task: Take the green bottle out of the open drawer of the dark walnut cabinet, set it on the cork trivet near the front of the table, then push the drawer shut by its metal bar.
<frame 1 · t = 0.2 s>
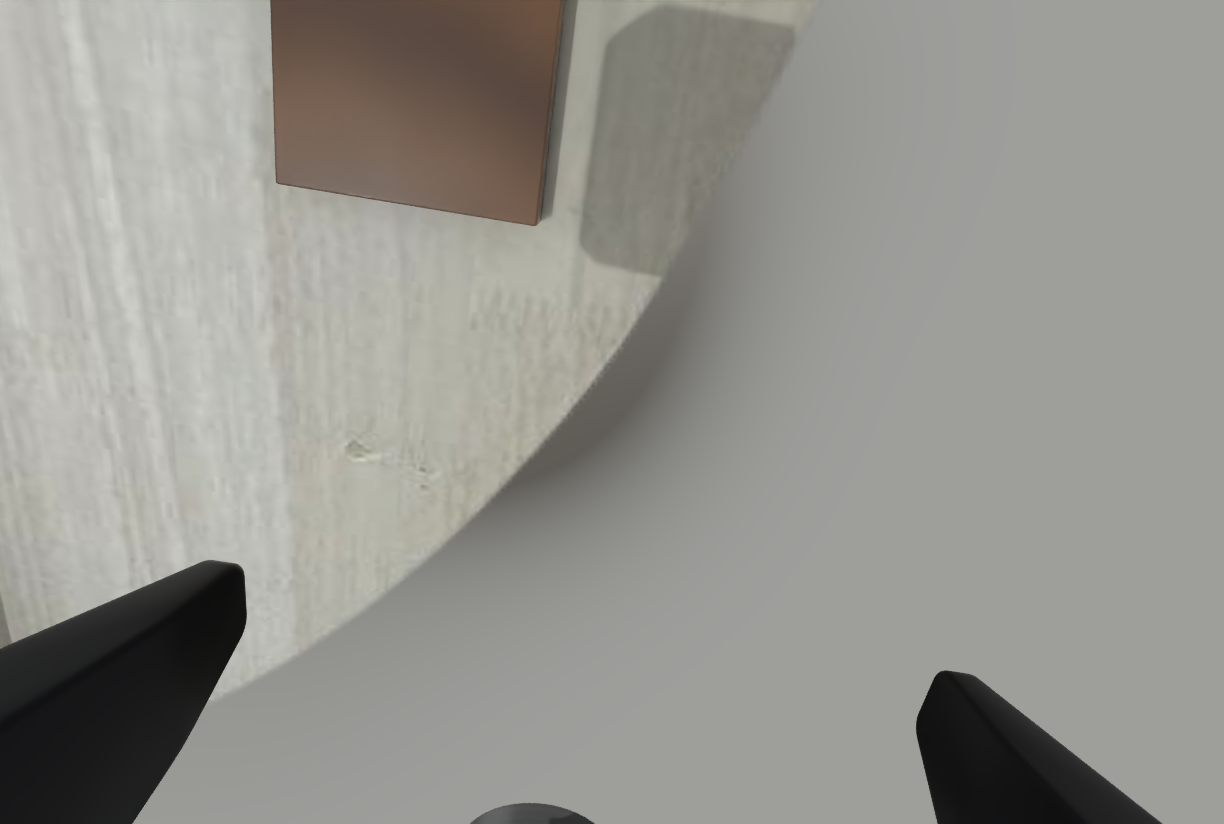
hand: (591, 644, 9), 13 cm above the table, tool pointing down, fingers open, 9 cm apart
trivet: (421, 62, 18), on the table
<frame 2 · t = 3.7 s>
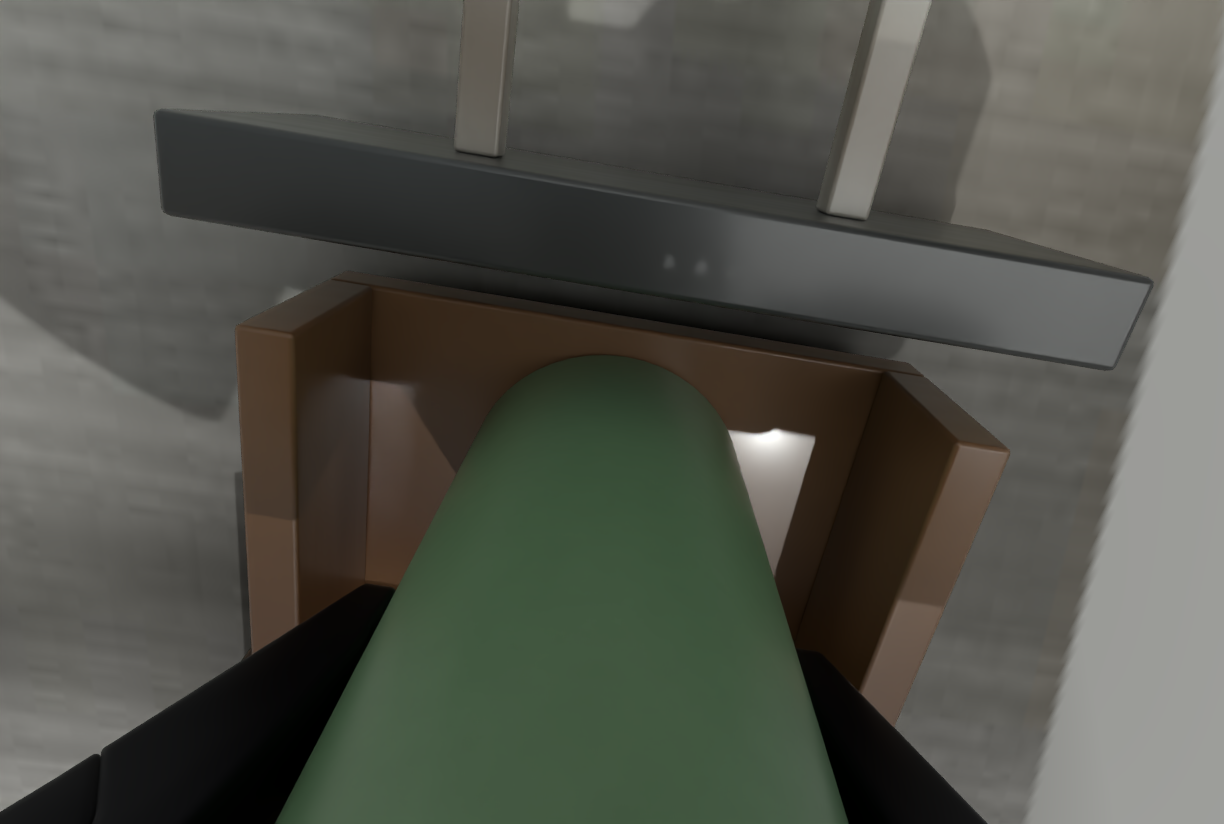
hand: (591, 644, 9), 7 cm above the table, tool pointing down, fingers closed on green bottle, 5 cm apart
green bottle: (604, 479, 13), point 2 cm above the table, touching drawer, gripper
drawer: (616, 425, 11), point 3 cm above the table, slide at 9.0 cm, touching green bottle
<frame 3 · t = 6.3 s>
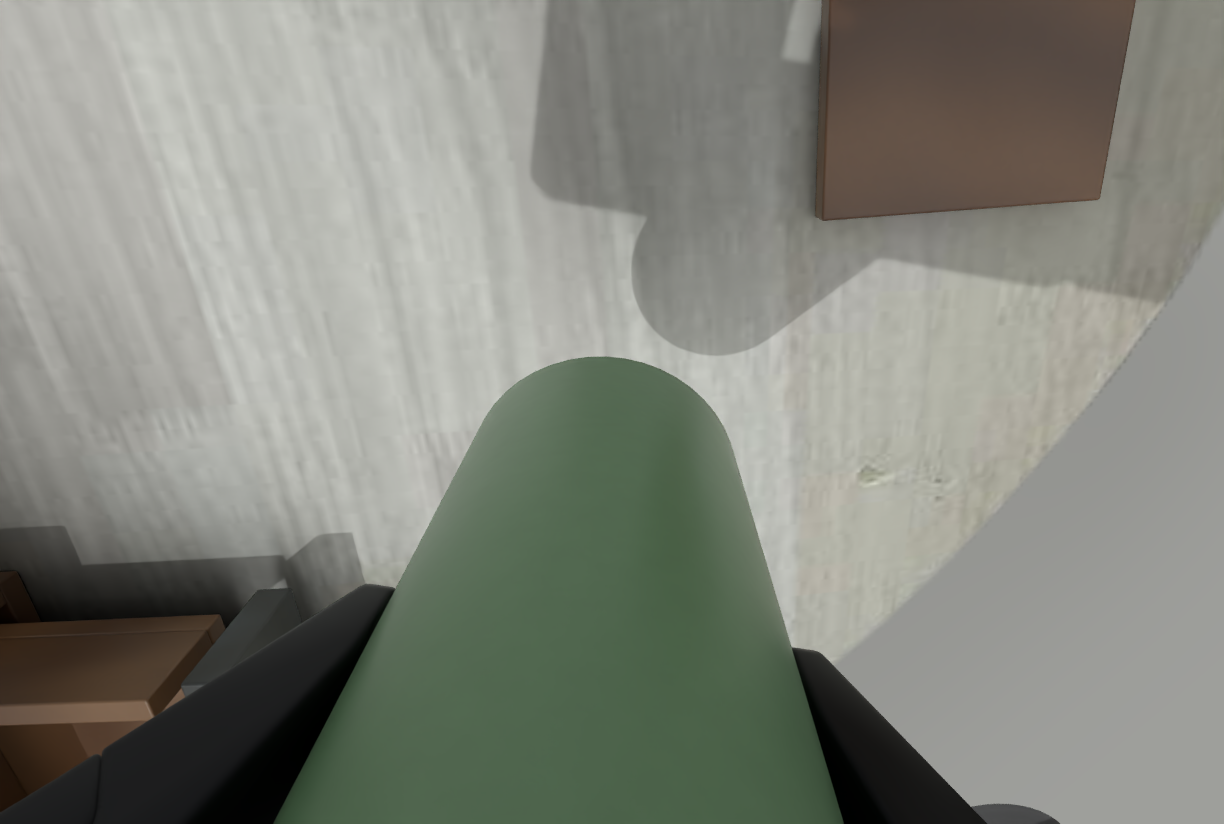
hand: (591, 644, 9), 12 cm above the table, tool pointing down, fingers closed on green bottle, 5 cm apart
trivet: (961, 62, 17), on the table
green bottle: (602, 481, 13), point 8 cm above the table, touching gripper
drawer: (196, 775, 23), point 3 cm above the table, slide at 9.0 cm
when the fingers open (5 cm above the table, at t = 9.3 s): green bottle stays where it is, resting on trivet.
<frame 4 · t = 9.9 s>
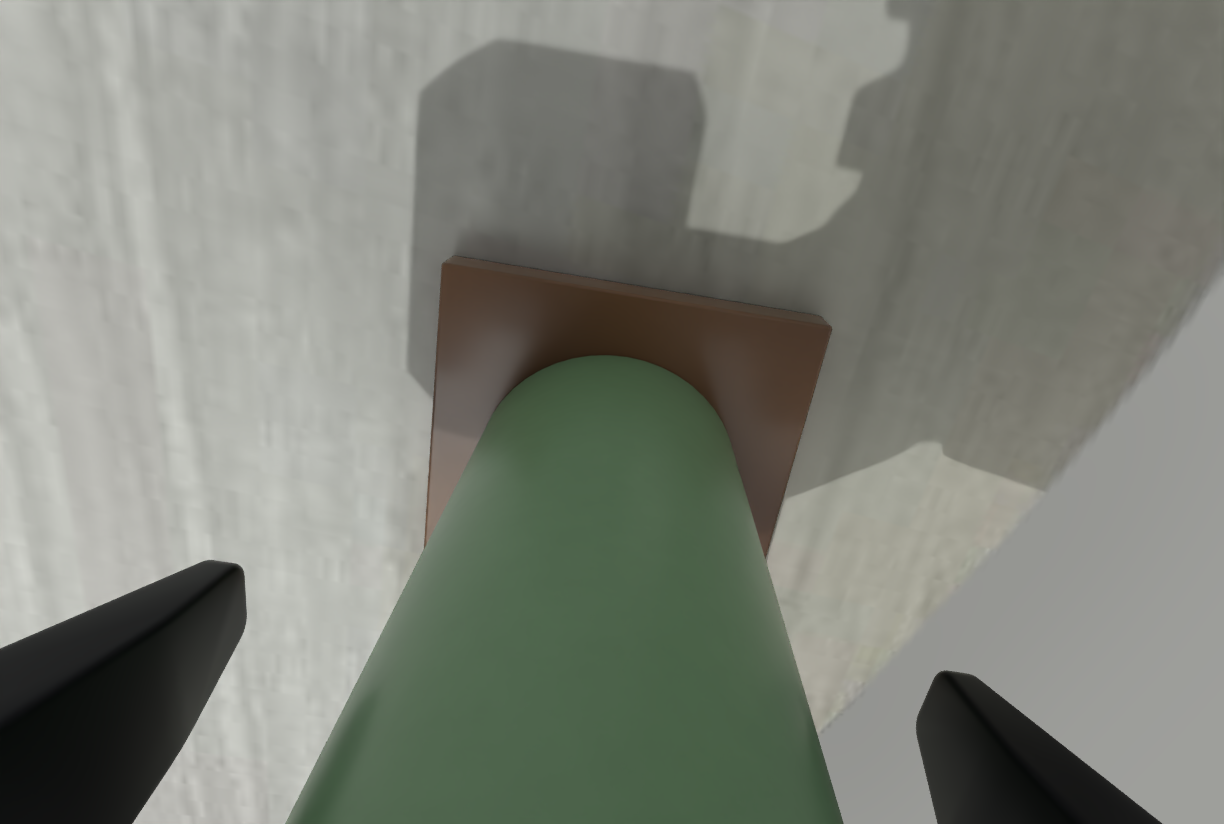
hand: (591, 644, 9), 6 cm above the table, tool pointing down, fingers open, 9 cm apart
trivet: (609, 452, 14), on the table
green bottle: (605, 475, 14), point 1 cm above the table, touching trivet
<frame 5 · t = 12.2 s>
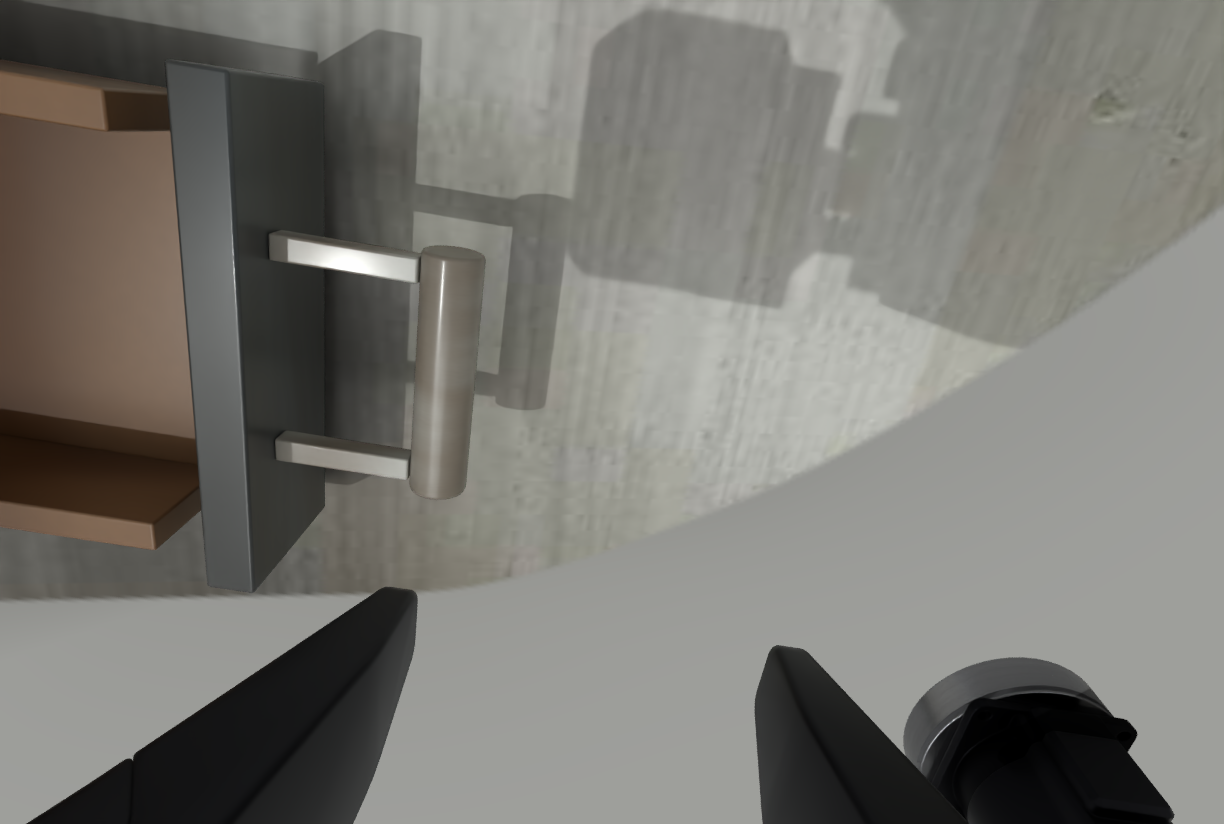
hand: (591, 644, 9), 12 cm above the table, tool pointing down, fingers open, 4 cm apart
drawer: (128, 317, 17), point 3 cm above the table, slide at 9.0 cm
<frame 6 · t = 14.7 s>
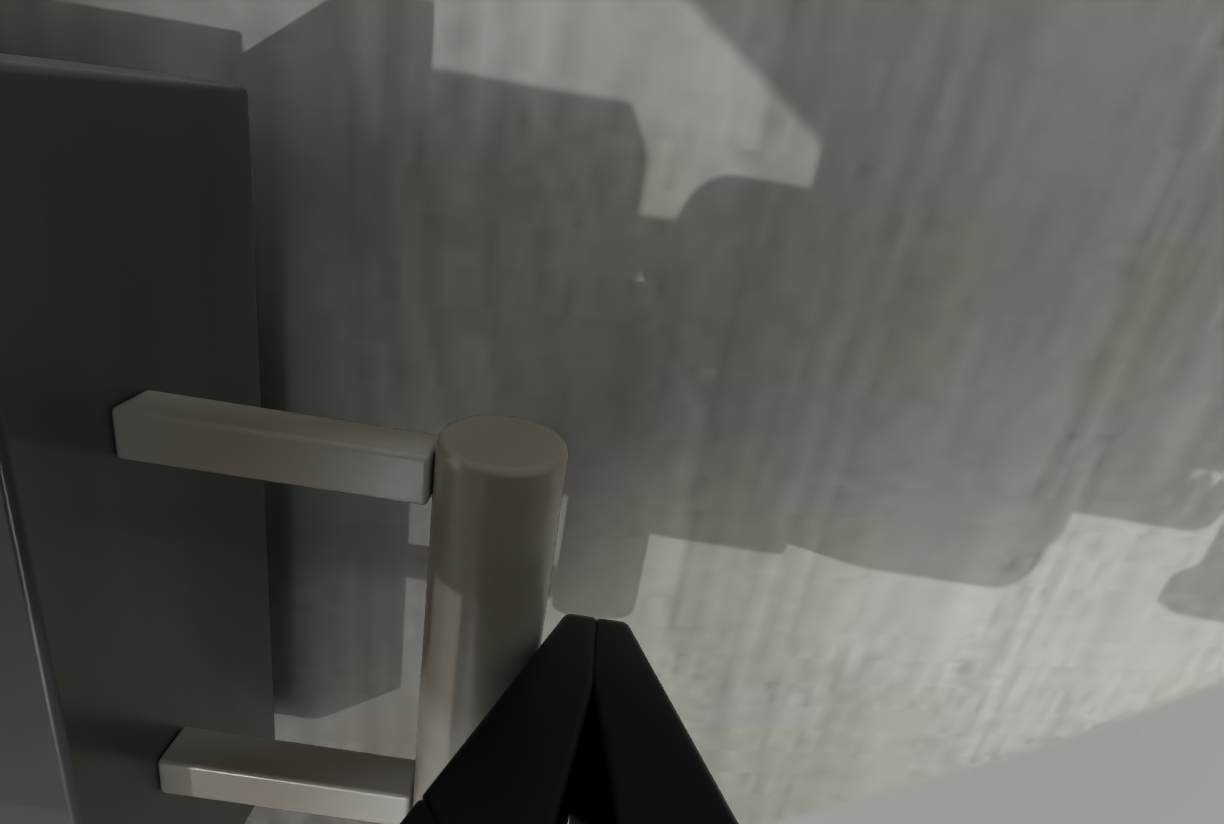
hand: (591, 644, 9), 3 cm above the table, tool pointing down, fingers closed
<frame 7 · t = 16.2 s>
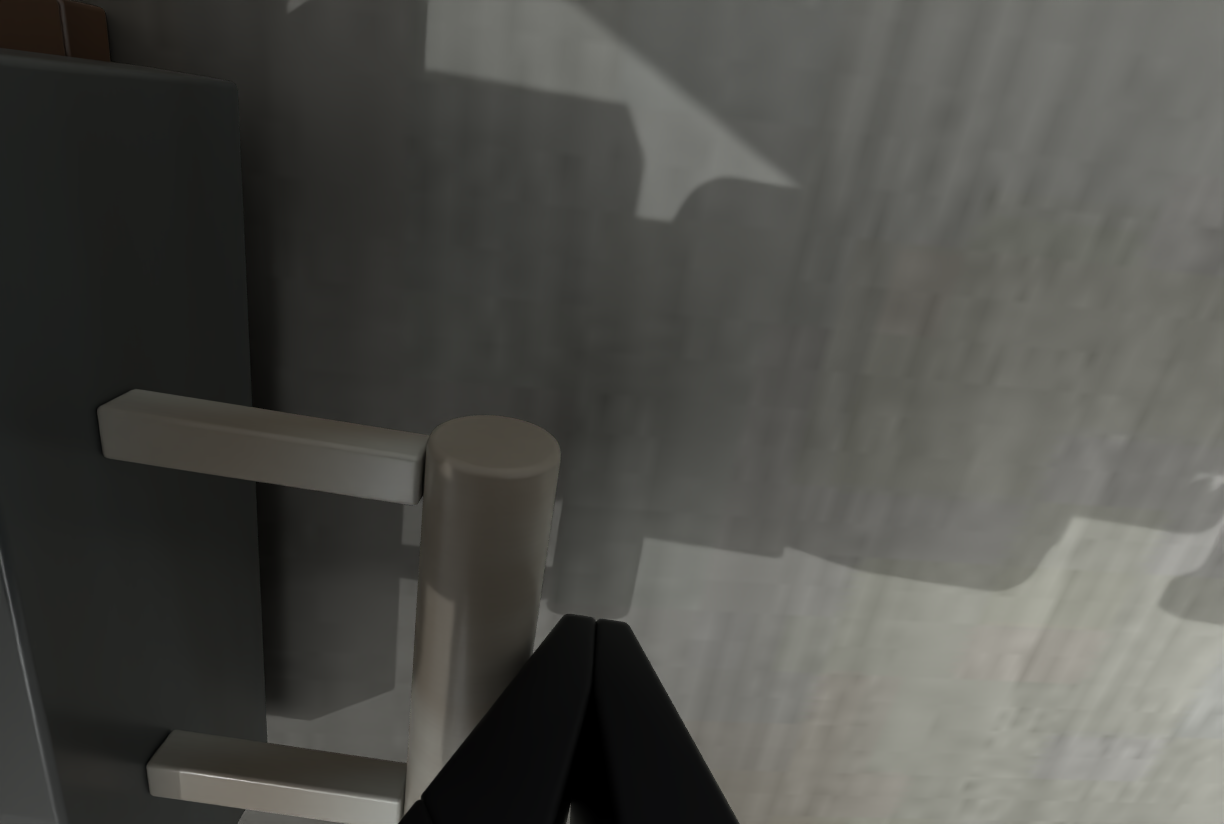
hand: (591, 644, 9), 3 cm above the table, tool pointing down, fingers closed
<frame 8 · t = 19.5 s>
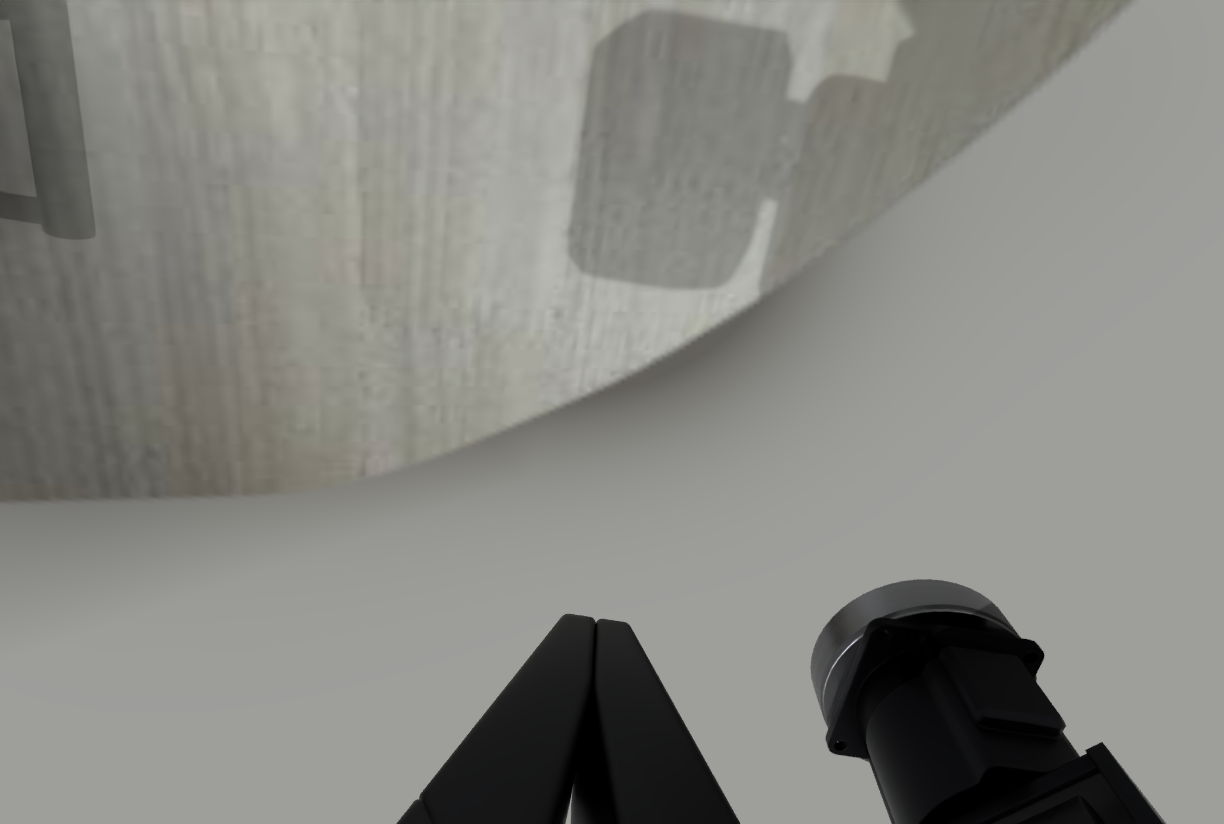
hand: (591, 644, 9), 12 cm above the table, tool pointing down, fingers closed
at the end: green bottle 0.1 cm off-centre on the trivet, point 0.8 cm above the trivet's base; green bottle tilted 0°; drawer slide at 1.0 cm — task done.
